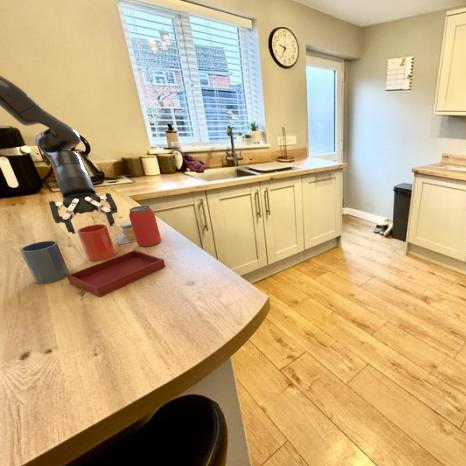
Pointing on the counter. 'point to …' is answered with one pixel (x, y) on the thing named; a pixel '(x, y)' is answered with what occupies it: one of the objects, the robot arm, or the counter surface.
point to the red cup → (96, 242)
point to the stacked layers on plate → (126, 232)
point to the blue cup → (45, 261)
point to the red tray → (115, 272)
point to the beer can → (144, 225)
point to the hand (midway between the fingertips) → (93, 228)
